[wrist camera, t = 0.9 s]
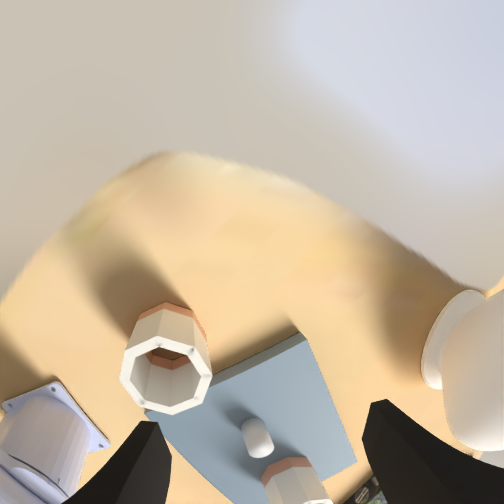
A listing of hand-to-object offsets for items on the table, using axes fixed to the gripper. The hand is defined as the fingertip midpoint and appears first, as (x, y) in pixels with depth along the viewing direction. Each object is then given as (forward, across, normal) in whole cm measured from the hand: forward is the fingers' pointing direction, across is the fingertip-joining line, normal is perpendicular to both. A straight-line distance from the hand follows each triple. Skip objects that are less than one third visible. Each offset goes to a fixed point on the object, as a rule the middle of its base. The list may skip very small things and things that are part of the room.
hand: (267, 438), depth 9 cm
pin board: (+12, 0, +15) cm, 19 cm away
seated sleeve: (+10, -2, +19) cm, 22 cm away
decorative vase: (+17, -24, +10) cm, 31 cm away
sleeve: (+12, +6, +3) cm, 14 cm away
